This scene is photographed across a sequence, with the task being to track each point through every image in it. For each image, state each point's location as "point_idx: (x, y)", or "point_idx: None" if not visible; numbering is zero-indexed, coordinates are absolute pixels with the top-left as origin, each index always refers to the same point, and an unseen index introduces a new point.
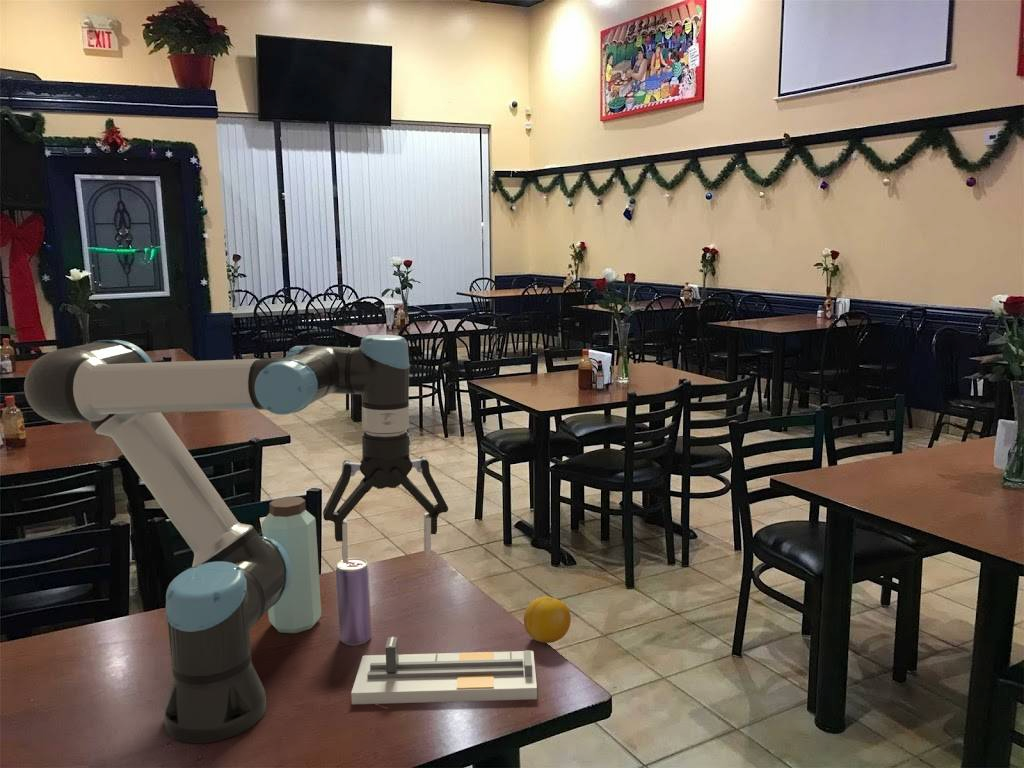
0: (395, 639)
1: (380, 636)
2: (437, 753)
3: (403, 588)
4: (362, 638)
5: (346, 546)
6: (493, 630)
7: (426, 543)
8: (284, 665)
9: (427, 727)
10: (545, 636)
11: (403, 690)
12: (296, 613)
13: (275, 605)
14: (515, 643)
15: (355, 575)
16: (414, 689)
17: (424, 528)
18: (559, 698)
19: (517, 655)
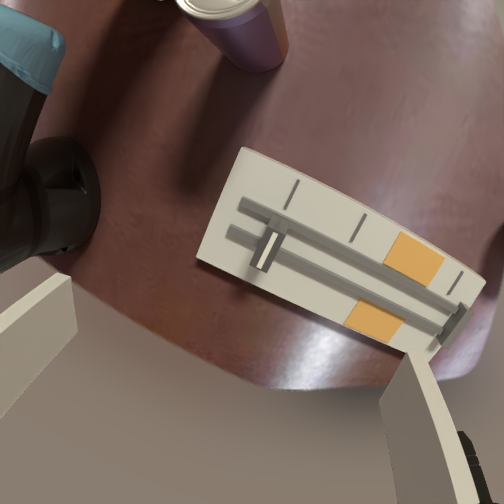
0: (278, 243)
1: (304, 56)
2: (271, 384)
3: None
4: (262, 70)
5: (40, 367)
6: (485, 152)
7: (387, 441)
8: (131, 93)
9: (280, 344)
10: None
11: (271, 289)
12: None
13: None
14: (490, 212)
15: (221, 27)
16: (287, 294)
17: (426, 448)
18: (442, 360)
19: (464, 282)
